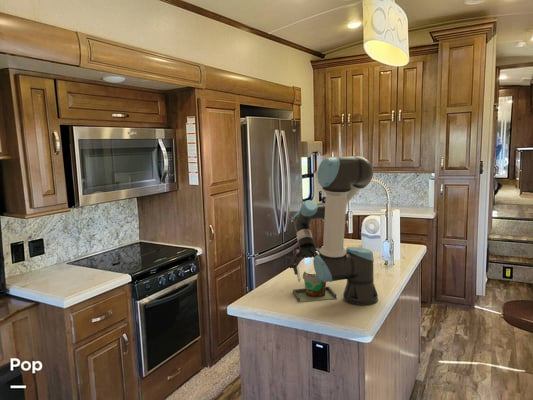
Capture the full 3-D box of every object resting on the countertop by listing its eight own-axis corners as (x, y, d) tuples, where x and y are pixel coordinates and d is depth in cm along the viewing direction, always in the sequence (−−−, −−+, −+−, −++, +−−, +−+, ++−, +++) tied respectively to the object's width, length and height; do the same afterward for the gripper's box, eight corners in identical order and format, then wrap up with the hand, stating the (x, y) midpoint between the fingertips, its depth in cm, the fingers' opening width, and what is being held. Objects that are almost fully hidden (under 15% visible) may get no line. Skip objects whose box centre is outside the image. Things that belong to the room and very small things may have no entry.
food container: (298, 295, 191) (297, 274, 190) (304, 291, 196) (304, 271, 195) (321, 300, 184) (320, 278, 183) (327, 296, 189) (327, 274, 188)
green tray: (336, 298, 186) (336, 294, 186) (297, 302, 184) (297, 298, 183) (329, 290, 198) (329, 286, 197) (292, 293, 195) (292, 289, 195)
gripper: (328, 242, 206) (338, 280, 193) (279, 246, 203) (286, 285, 190) (331, 234, 201) (341, 272, 187) (281, 237, 197) (288, 277, 184)
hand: (313, 279), depth 189 cm, fingers open, 13 cm apart
